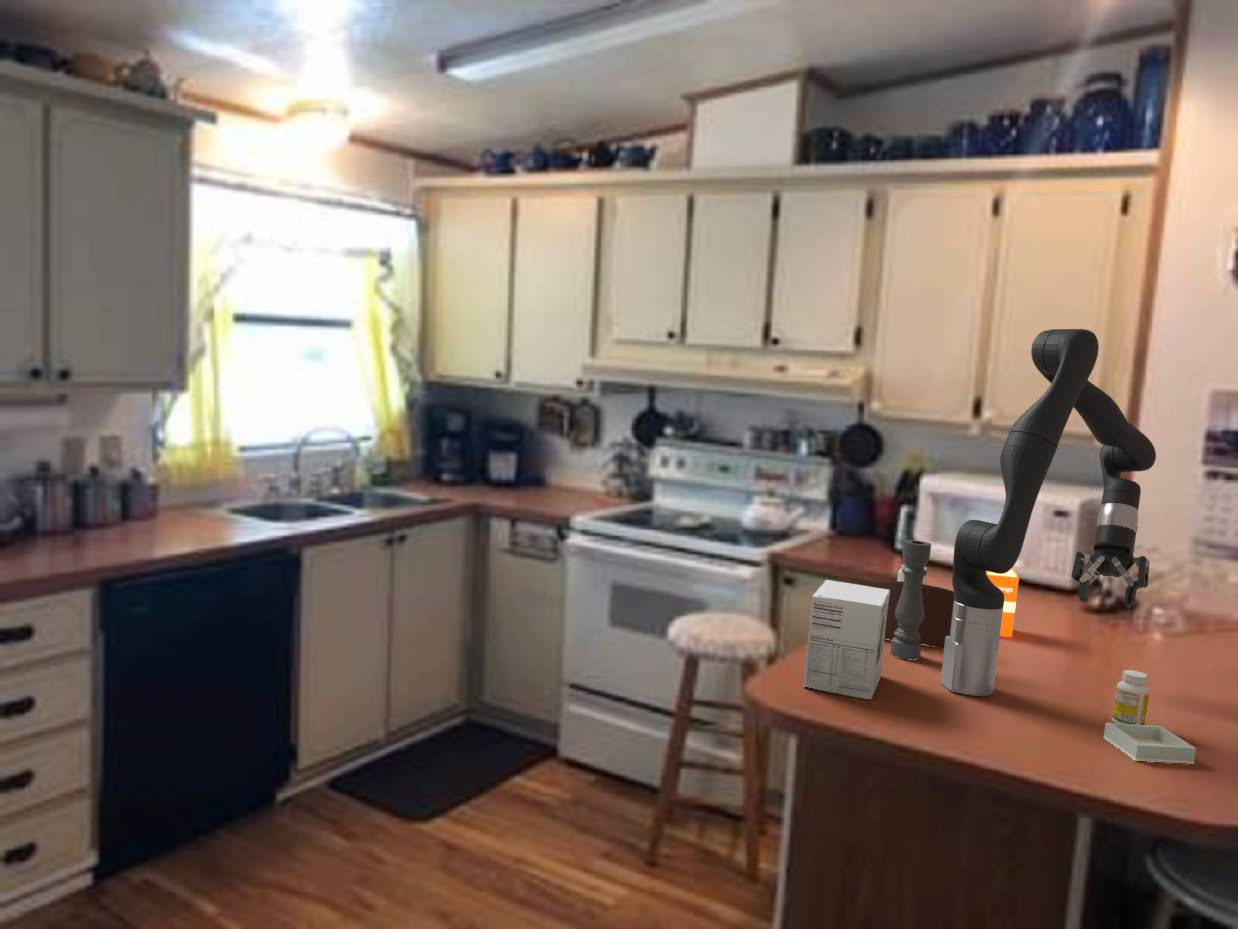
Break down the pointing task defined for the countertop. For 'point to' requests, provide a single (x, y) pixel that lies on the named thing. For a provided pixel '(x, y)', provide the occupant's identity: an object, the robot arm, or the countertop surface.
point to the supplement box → (846, 639)
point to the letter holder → (935, 611)
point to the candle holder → (911, 601)
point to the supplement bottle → (1131, 699)
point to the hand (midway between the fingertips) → (1105, 604)
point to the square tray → (1149, 743)
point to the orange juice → (1006, 598)
